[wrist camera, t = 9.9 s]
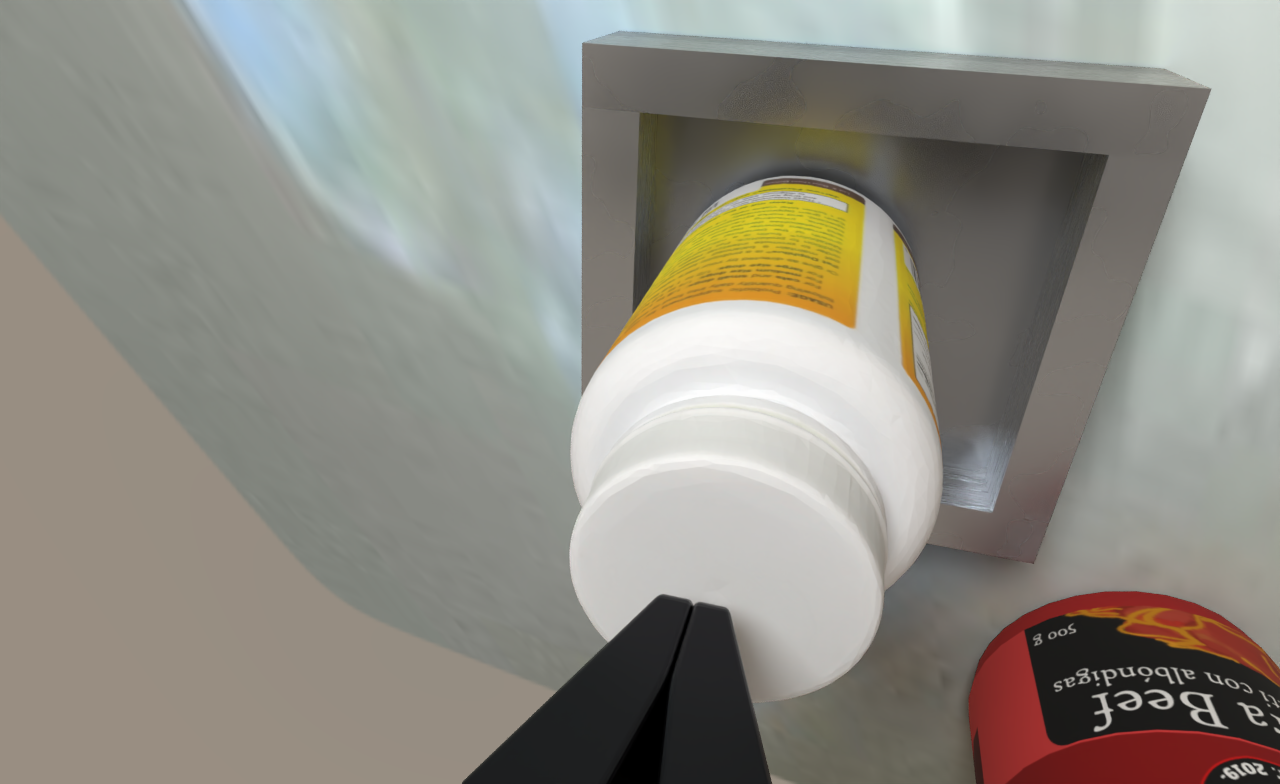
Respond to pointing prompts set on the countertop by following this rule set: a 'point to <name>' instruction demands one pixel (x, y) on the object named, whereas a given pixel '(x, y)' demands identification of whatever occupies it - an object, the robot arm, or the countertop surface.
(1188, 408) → the countertop surface
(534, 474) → the countertop surface
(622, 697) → the robot arm
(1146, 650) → the canned food
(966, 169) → the square metal tray
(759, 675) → the supplement bottle
